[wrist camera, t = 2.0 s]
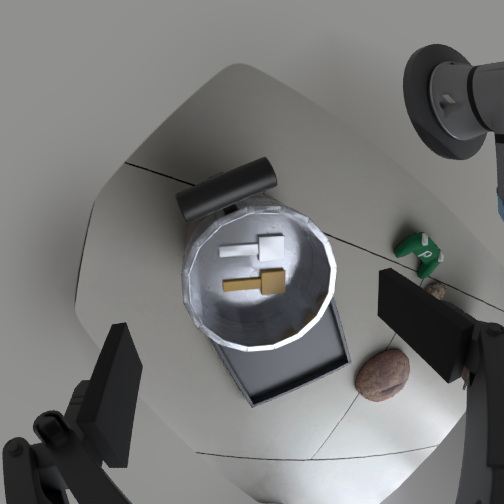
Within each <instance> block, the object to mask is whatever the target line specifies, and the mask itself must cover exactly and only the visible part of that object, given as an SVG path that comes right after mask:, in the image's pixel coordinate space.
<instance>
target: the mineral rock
mask: <svg viewBox="0 0 504 504" xmlns="http://www.w3.org/2000/svg"><path fill="white" fill-rule="evenodd" d="M425 290H426V291H427V292H429V293H430V294H432V295H433V296H435V297H436V298H438V299H439V300H442V299H443V296H444V294H445V292H446V289H445V285H442V284H441V282H438V283H437V284H431V285H430V286H429V287H428V288H426V289H425Z"/></svg>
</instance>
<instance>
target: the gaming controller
mask: <svg viewBox="0 0 504 504" xmlns="http://www.w3.org/2000/svg"><path fill="white" fill-rule="evenodd" d="M411 252H413V253H414V254H415V255H416V256H418V257H419V258H420V259H421V260H422V261H423V263H422V265H421V266H420V268H419V270H418V274H417V275H418V277H419V278H420V279H424V278H426V277H428V276H429V275H430V274H431V273H432V272H433V270H434V269H435V268H436V267H437V265H438V264H439V263H441V262H443V253H442V251H441V250H440V249H439V248H438V247H437V245H436V244H435V243H434V242H433V241H432V240H431V239H430V238H429V237H428V236H427V235H426V234H425V233H424V232H419V233H414V234H413V235H411V236H409V237H408V238H407V239H406V240H404V241H403V242H402V243H401V244H400V245H399V246H398V247H397V248H396V250H395V251H394V254H395V256H396V257H397V258H399V257H403V256H405V255H407V254H409V253H411Z"/></svg>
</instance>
